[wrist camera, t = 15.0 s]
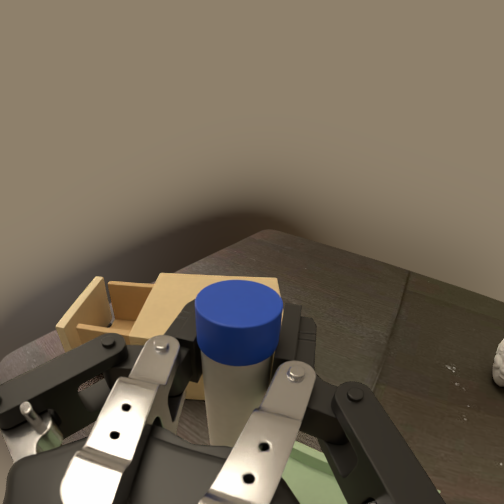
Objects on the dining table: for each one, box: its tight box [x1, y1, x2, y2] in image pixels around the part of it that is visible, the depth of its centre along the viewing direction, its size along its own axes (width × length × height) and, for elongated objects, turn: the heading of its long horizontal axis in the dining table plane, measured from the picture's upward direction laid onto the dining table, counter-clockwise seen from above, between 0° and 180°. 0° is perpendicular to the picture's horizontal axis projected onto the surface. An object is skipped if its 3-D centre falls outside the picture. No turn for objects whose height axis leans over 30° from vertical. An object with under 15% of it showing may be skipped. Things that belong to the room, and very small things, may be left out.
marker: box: [195, 280, 283, 447], centre depth 12 cm, size 3×3×14 cm
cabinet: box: [129, 273, 284, 400], centre depth 31 cm, size 14×12×8 cm
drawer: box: [56, 276, 154, 352], centre depth 31 cm, size 15×11×7 cm
